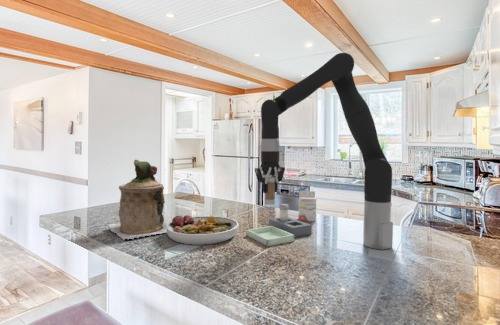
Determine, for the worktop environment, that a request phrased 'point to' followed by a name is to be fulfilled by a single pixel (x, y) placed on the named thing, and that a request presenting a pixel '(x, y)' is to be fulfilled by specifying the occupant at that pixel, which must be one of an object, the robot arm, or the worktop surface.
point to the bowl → (201, 229)
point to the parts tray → (270, 235)
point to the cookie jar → (141, 205)
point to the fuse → (284, 212)
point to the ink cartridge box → (307, 206)
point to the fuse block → (292, 226)
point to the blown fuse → (270, 191)
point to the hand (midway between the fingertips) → (270, 192)
